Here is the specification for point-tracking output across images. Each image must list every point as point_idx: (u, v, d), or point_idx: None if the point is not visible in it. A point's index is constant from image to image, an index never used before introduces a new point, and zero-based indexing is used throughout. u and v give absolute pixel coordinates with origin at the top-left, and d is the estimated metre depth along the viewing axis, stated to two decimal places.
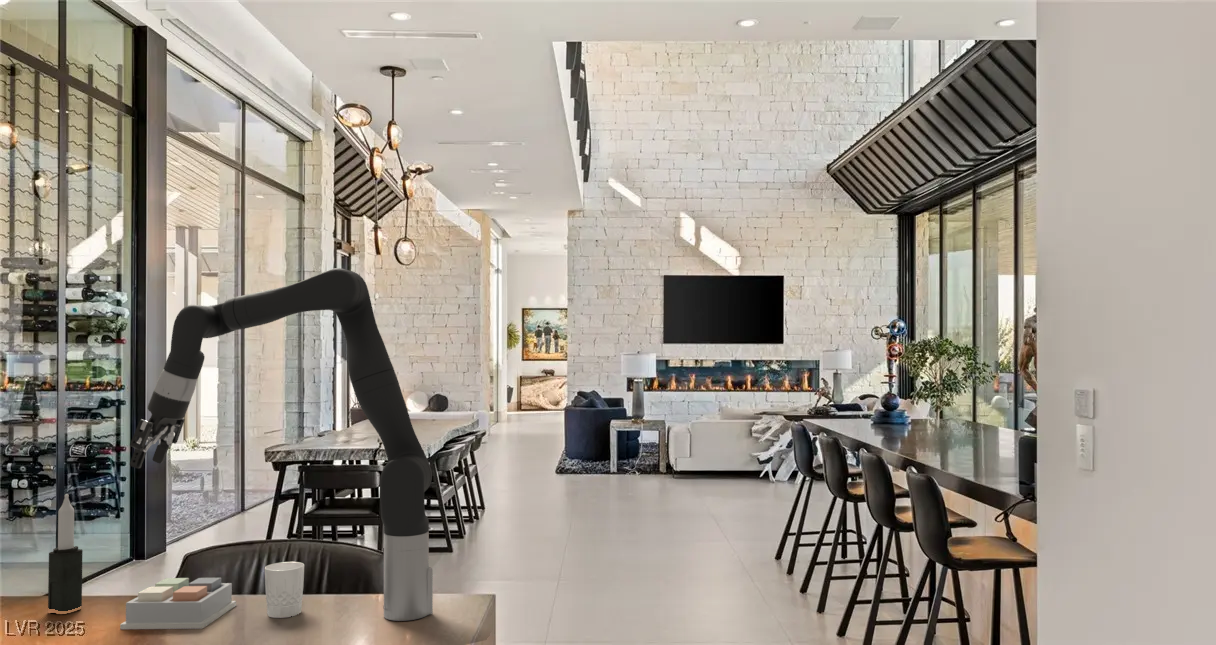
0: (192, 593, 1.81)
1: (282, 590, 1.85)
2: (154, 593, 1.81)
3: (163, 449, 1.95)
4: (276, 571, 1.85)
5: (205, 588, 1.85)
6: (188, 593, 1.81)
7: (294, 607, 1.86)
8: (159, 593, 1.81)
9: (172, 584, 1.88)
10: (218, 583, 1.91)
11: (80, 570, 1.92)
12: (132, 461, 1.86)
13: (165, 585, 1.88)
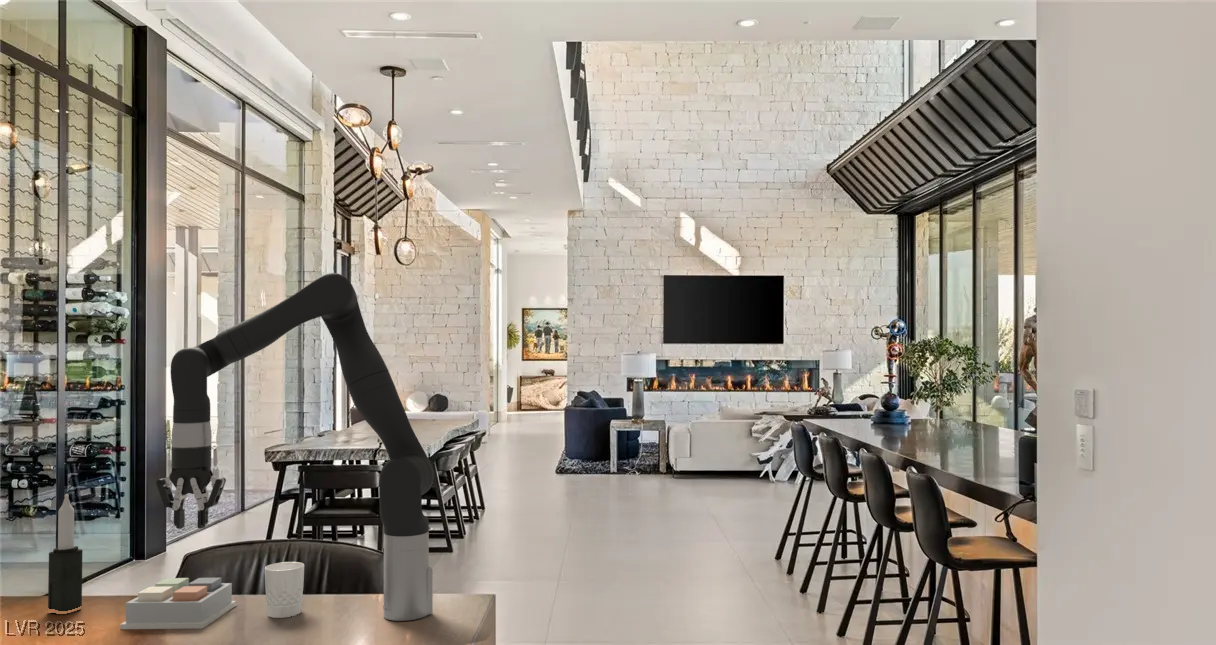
0: (192, 593, 1.81)
1: (282, 590, 1.85)
2: (154, 593, 1.81)
3: (183, 512, 1.84)
4: (276, 571, 1.85)
5: (205, 588, 1.85)
6: (188, 593, 1.81)
7: (294, 607, 1.86)
8: (159, 593, 1.81)
9: (172, 584, 1.88)
10: (218, 583, 1.91)
11: (80, 570, 1.92)
12: (205, 522, 1.83)
13: (165, 585, 1.88)
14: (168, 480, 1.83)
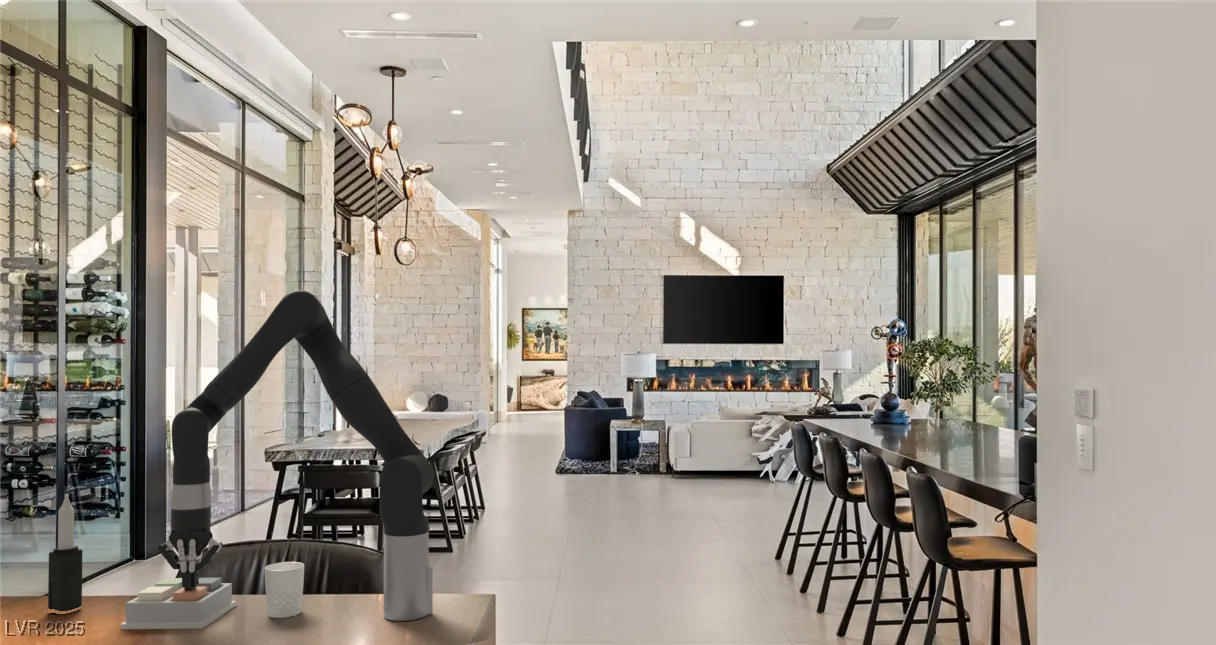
0: (192, 593, 1.81)
1: (282, 590, 1.85)
2: (154, 593, 1.81)
3: None
4: (276, 571, 1.85)
5: (205, 588, 1.85)
6: (188, 593, 1.81)
7: (294, 607, 1.86)
8: (159, 593, 1.81)
9: (172, 584, 1.88)
10: (218, 583, 1.91)
11: (80, 570, 1.92)
12: (196, 584, 1.83)
13: (165, 585, 1.88)
14: (169, 543, 1.83)
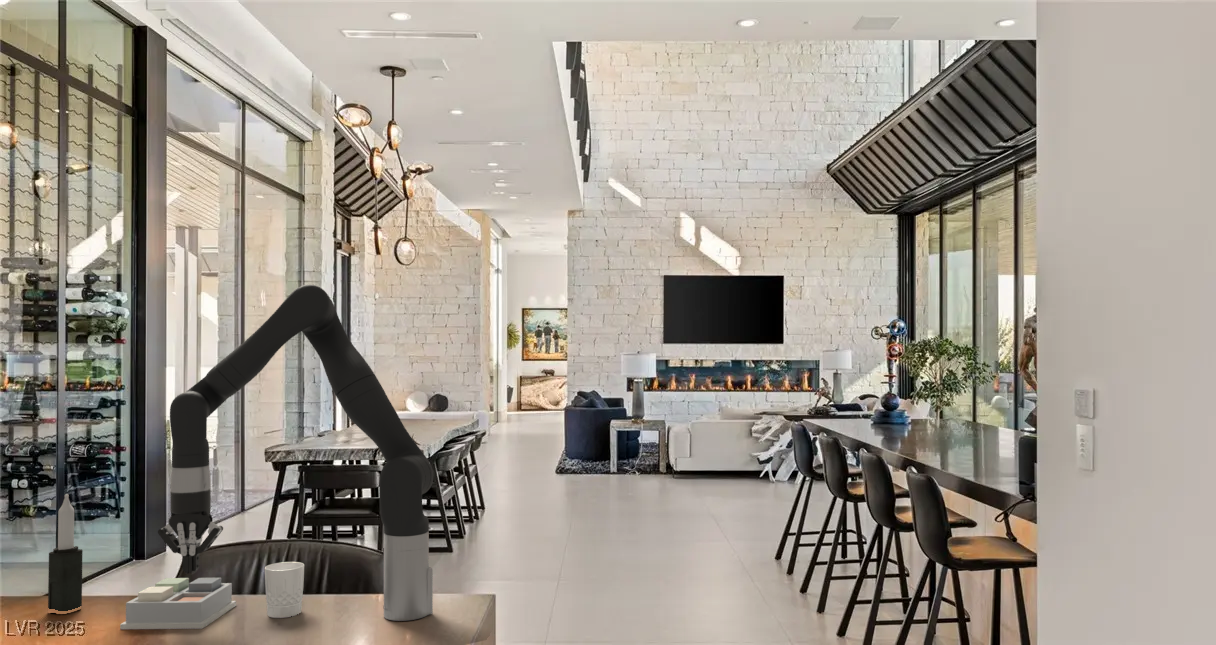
0: None
1: (282, 590, 1.85)
2: (154, 593, 1.81)
3: None
4: (276, 571, 1.85)
5: None
6: None
7: (294, 607, 1.86)
8: (159, 593, 1.81)
9: (172, 584, 1.88)
10: (218, 583, 1.91)
11: (80, 570, 1.92)
12: (196, 567, 1.83)
13: (165, 585, 1.88)
14: (169, 527, 1.83)
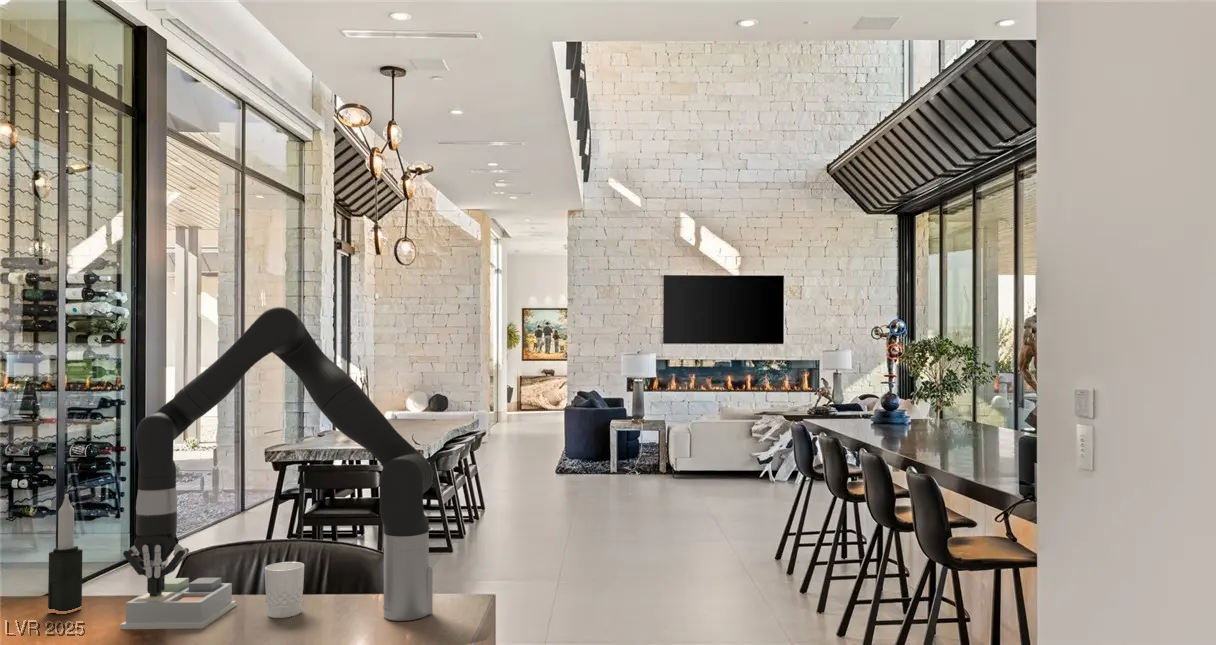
0: None
1: (282, 590, 1.85)
2: (154, 599, 1.81)
3: None
4: (276, 571, 1.85)
5: None
6: None
7: (294, 607, 1.86)
8: (159, 599, 1.81)
9: (172, 584, 1.88)
10: (218, 583, 1.91)
11: (80, 570, 1.92)
12: (161, 589, 1.83)
13: (165, 585, 1.88)
14: (134, 548, 1.83)
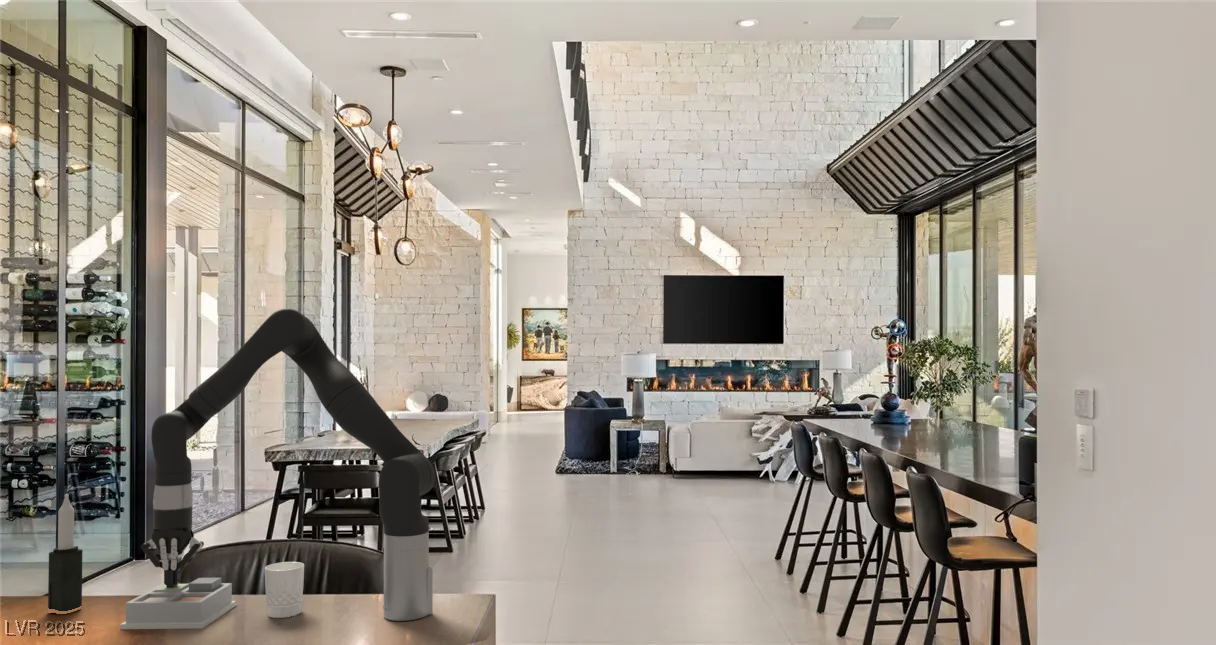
0: None
1: (282, 590, 1.85)
2: None
3: None
4: (276, 571, 1.85)
5: None
6: None
7: (294, 607, 1.86)
8: None
9: (172, 590, 1.88)
10: (218, 583, 1.91)
11: (80, 570, 1.92)
12: (177, 581, 1.90)
13: (165, 591, 1.88)
14: (152, 542, 1.90)
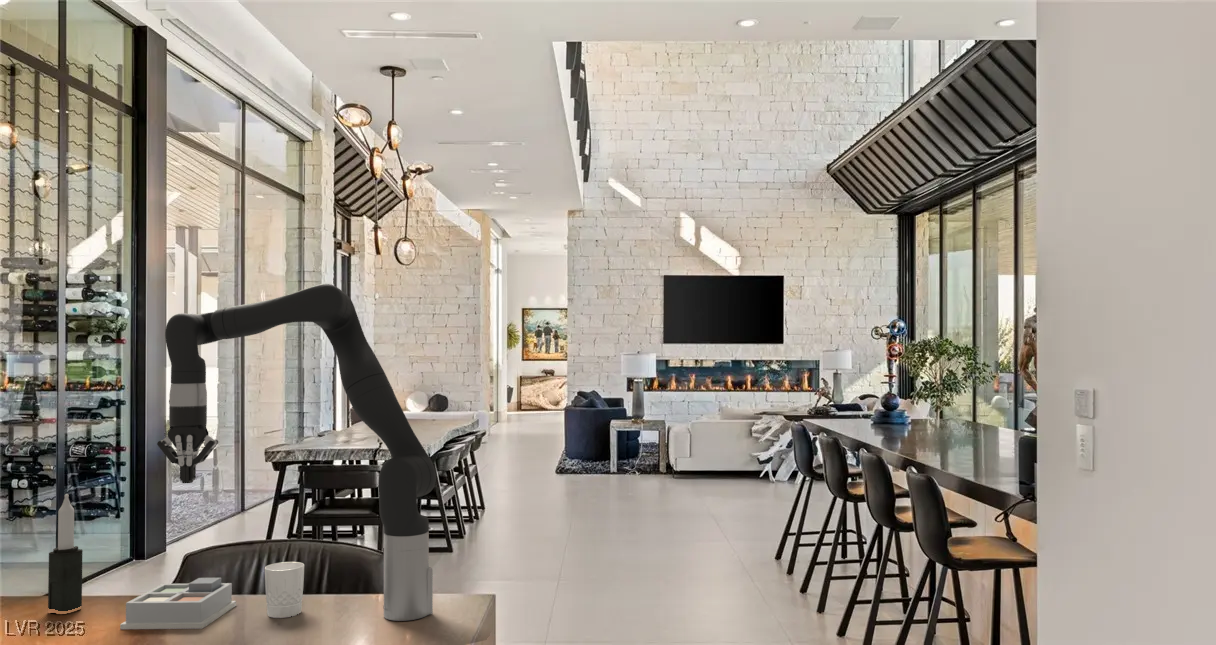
0: None
1: (282, 590, 1.85)
2: None
3: None
4: (276, 571, 1.85)
5: None
6: None
7: (294, 607, 1.86)
8: None
9: None
10: (218, 583, 1.91)
11: (80, 570, 1.92)
12: (193, 477, 1.96)
13: None
14: (168, 439, 1.96)
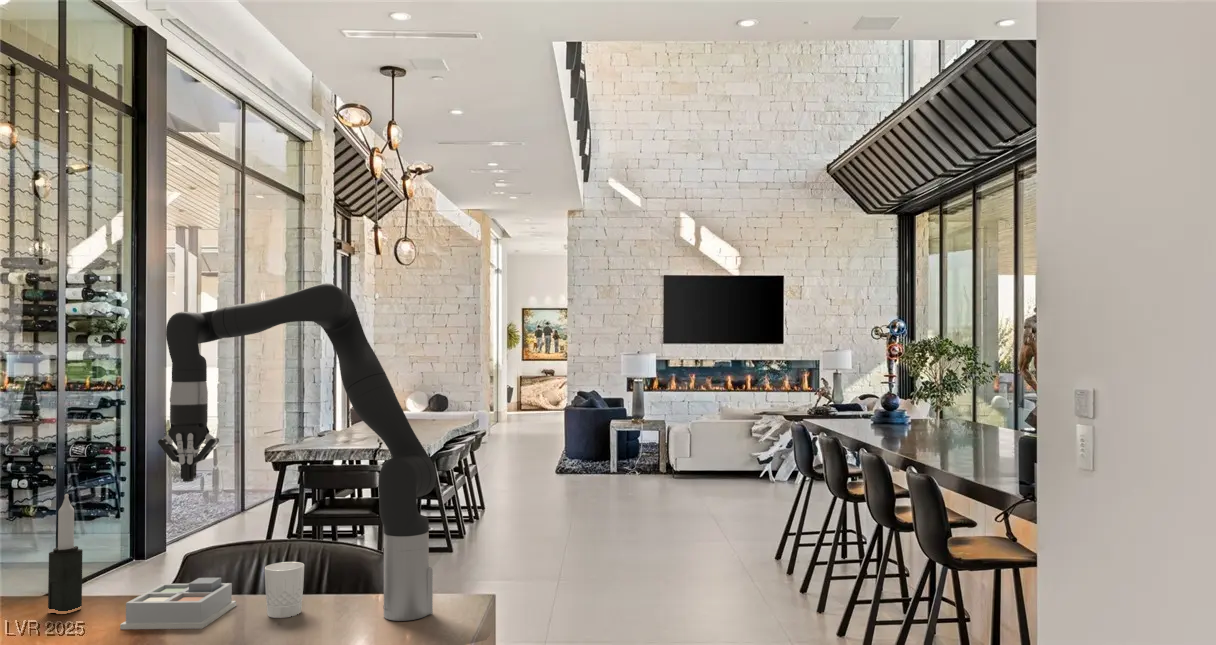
0: None
1: (282, 590, 1.85)
2: None
3: None
4: (276, 571, 1.85)
5: None
6: None
7: (294, 607, 1.86)
8: None
9: None
10: (218, 583, 1.91)
11: (80, 570, 1.92)
12: (193, 475, 1.96)
13: None
14: (168, 437, 1.96)
